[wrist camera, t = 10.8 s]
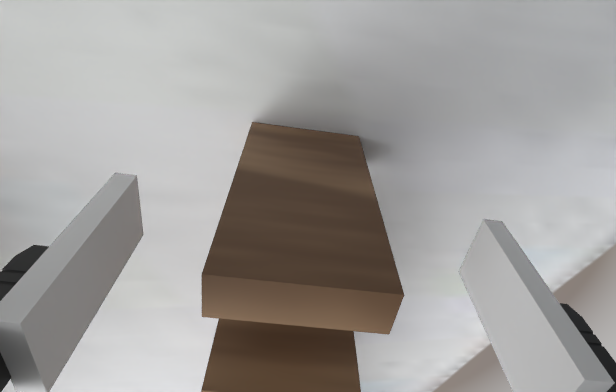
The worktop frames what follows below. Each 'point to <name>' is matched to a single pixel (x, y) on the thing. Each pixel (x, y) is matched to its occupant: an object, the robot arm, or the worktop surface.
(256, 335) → the domino
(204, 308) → the loose domino
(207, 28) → the worktop surface
